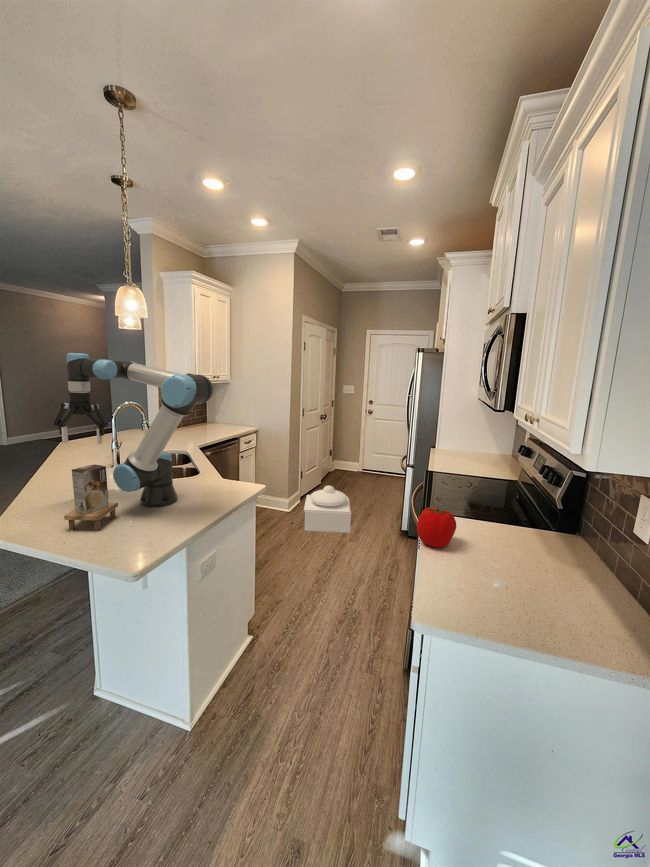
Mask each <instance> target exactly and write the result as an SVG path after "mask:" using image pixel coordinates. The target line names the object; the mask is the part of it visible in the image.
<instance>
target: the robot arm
mask: <svg viewBox="0 0 650 867" xmlns="http://www.w3.org/2000/svg"><path fill="white" fill-rule="evenodd" d="M89 357H90V356H89V354H87V353H79V352H77V353H76V352H69V353H66V362H65V364H66V372H67V385H68V386H67V388H68V391H69V393H68V401H69V403H67V402H61V404H60V410H59V412H58V414H56V415H57V416H56V418H55V419H54V422H53V425H54V426H57V427H58V428H59V434H60V435H61V440H62V444H65V443H66V444H67V443H68V442H69V433H68V426H66V425H67V424H68V423H69V422H70V420H71V419H72V418H73V417H74V415H76V416H77V415H79V416H80V415H81V416H86V417H88V418H89V419H90V421H92V422H93V423H94V425H96V426H97V428H96V443H97V445H100V444H103V436H105V428H106V427H109V425H110V424H109V422H108V420H107V419H106V417H105V415H104V413H103V411H102V410H101V406H100V405H101V404H99V403H96V404H92V395H91V379H98V380H99V379H101V380H112V379H124V380H129V381H133V382H137V383H141V384H145V385H149V386H153V387H157V388H160V393H161V394H160V397H161V398H160V400H159V401H160V404H161V407H160V408H159V410H158V412H157V413H156V415H155V417H154V419H153V421H152V423H151V424H150V426H149V428H148V429H147V431H146V433H145V435H144V436H143V438H142V440H141V442H140V443H139V445H138V447H137V448H136V450H135V451H131V452H130V453H129V454H128V455H127V457H126V459H125V461H124V462H123V463H119V464H118V465H116V466H115V468H114V469H113V472H112V477H113V480H114V483H115V485H116V486H117V488H119V489H120V490H121V491H123V492H127V493H131V492H137V491H139V490H140V489H142V488H143V490H142V493H141V496H140V500H139V503H140V506H142V507H145V508H164V507H168V506H172V505H173V504H175V503H177V502H178V494H177V492H176V490H175V487H174V485H173V477H174V476H173V462H174V461H173V456H172V453H170V452H168V451H164V450H165V449H166V446H167V445H168V443H169V442H170V439H171V438H172V437H173V436H174V433H175V431H176V430H177V428H178V426H179V425H180V423H181V421H182V420H183V418H184V417H187V416H190V414H191V413H192V412H193V409H194V408H195V407H196V405H201V404H204V403H207V402H208V401H209V400H211V399H212V397H213V395H214V385H213V382H212V381H211V379H209V378H208V377H207V376H205V375H202V374H195V373H189V372H188V373H185V374H184V373H178V372H174V371H170V370H166V369H161V368H158V367H153V366H148V365H145V364H140V363H136V362H135V361H133V360H132V361H131V360H127V359H125V360H117V359H103V358H102V359H101V358H100V359H97V358H96V359H94V358H89ZM68 409H70V411H68V413H67V415H66V416H65V414H66V412H67V410H68ZM92 410H93V411H94V412H93V411H92ZM94 413H95V414H94Z"/></svg>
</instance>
